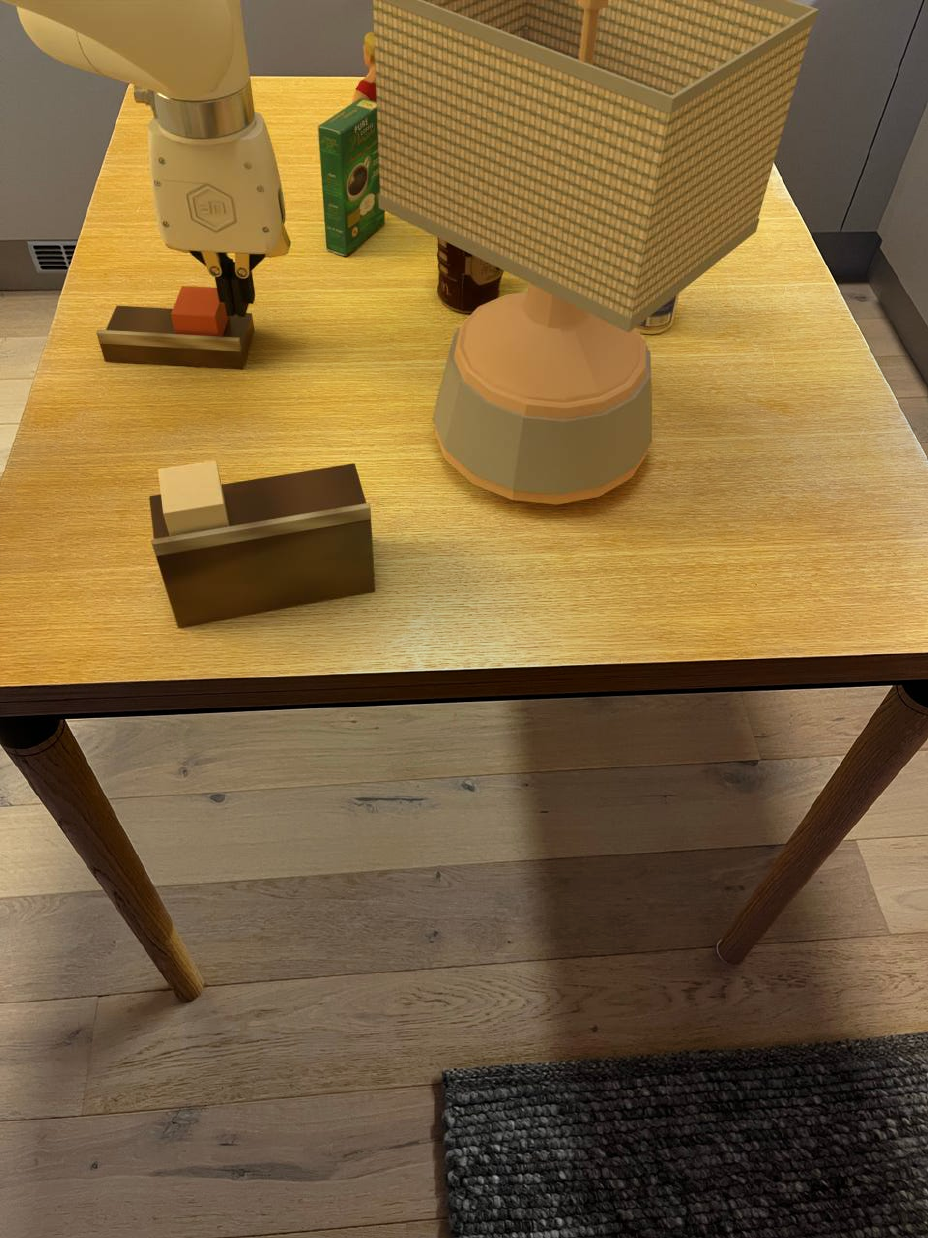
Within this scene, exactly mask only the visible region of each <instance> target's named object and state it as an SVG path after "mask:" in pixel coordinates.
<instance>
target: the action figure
mask: <svg viewBox="0 0 928 1238" xmlns="http://www.w3.org/2000/svg"><path fill="white" fill-rule="evenodd" d="M362 51H363V59H364V63H365V66H366V67H368V69H369V71H368V73H367V74H366V76H364V78H362V79H361V80H359V81H358V85H356V87H355V91H354V93H353V96H352V100H351V104H352V103H353V102H355V101H356V100H358V99H359V98H364V99H368V100H372V101H375V102H377V99H376V72H375V44H374V31H370V32H367V33H366V34H365V36H364V45H363V46H362Z"/></svg>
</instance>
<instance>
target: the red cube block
mask: <svg viewBox="0 0 928 1238" xmlns="http://www.w3.org/2000/svg"><path fill="white" fill-rule="evenodd" d="M172 309H173V310H172V313H171V317H172V321H173V325H174V330H175V334H182V335H200V336H218V337H223V334H224V331H225V328H226V325H227V322H228V318H229V316H227V314H226V309H225V303H224V302H220V301H219V298H218V292H217V287H207V286H193V285H192V286H191V285H190V286H189V285H181V287H180V289H179V292H178V294H177V297H176V299H175V303H174V305H173V308H172Z"/></svg>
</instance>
